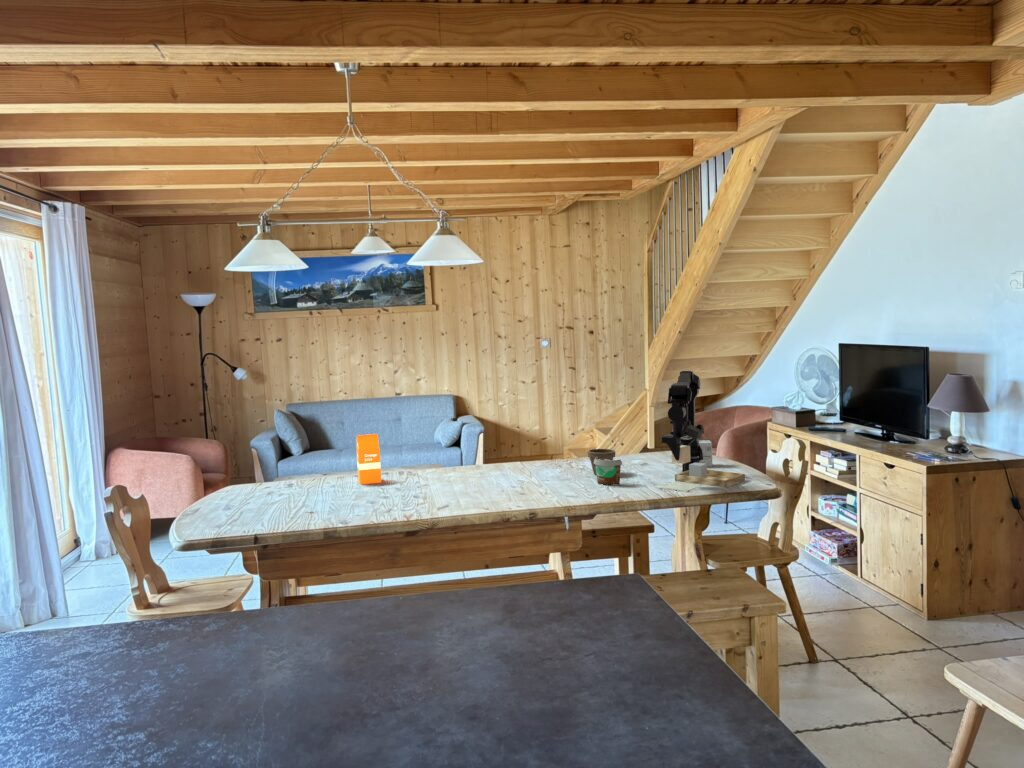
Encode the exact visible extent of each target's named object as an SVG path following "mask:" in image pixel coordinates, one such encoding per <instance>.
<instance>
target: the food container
mask: <svg viewBox="0 0 1024 768" xmlns="http://www.w3.org/2000/svg"><path fill="white" fill-rule="evenodd" d="M594 464H595V465H596V474H597V475H596V482H597V485H600V484H603V485H602V486H614V485H613V484H618V485H620V484H621V483H620V480H621V466H622V465H623V463H622V459H620V458H619V459H613V460H610V459H598V457H595V459H594Z"/></svg>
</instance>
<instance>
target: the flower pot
mask: <svg viewBox="0 0 1024 768" xmlns="http://www.w3.org/2000/svg"><path fill="white" fill-rule="evenodd" d="M587 457H588V458H589V460H590V463H591V468H592V472H593V474H594V475H595V476H597V474H596V465H595V464H594V459H595V457H598V459H610V460H614V458H615V457H616V450H615V449H611V448H593V449H589V450H587Z"/></svg>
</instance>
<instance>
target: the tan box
mask: <svg viewBox="0 0 1024 768" xmlns="http://www.w3.org/2000/svg"><path fill="white" fill-rule="evenodd" d="M688 462H690V446H686V445H681V446H680V455H679V460H676V459H675V457H674V455H673V453H672V452H671V463H673V464H674V463H675V464H685V463H688Z"/></svg>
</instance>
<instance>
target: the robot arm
mask: <svg viewBox="0 0 1024 768" xmlns="http://www.w3.org/2000/svg"><path fill="white" fill-rule="evenodd" d="M700 379H701V378H700V376H698V375H697V374H695V373H694V371H692V370H681V371H679V375H678V377H677V381H676V382H675V383H672V384H671V385H670V387H669V388H668V397H667V405H671V407H670V408H669V409H668V411H667V416H668V419H669V420H670V421H669V422H670V423H669V424H671V425H672V431H670V434H669V433H667V434H663V435H662V436H661V439H660V442H661V444H666V445H667V446H668V448H669V449H670V452H671V454H672V453H673V455H674V457H675V459H676V460H679V455H680V446H681V445H686V446H690V462H688V463H685V464H682V463H681V464H682V468H681V469H682V472H685V471H687V470H689V464H692V463H700V461H701V460H703V452H702V449H701V446H699V441H700V440H699V439H701V438H702V435H704V434H705V430H704V425H703V424H697V425H696V398H697V396H698V395H699V393H700V390H701V380H700ZM698 456H699V457H698ZM682 472H681V473H682Z"/></svg>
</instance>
